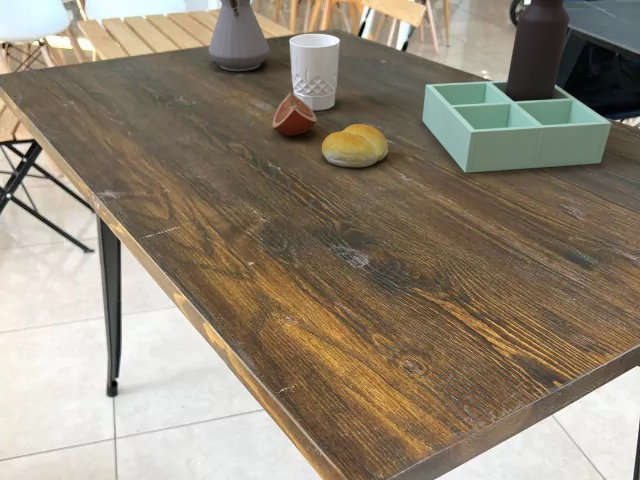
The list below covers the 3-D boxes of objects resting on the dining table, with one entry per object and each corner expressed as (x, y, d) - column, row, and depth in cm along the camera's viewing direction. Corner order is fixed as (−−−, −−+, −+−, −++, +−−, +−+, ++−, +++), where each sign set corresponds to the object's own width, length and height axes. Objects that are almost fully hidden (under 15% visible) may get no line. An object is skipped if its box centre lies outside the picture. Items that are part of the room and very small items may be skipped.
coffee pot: (211, 57, 128) (203, -28, 119) (269, 56, 129) (266, -29, 120) (204, 92, 111) (195, -4, 102) (271, 90, 112) (267, -5, 103)
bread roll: (310, 157, 90) (310, 129, 87) (354, 140, 95) (355, 113, 92) (354, 176, 85) (355, 146, 82) (398, 156, 90) (400, 128, 87)
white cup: (322, 115, 103) (323, 49, 97) (281, 106, 106) (279, 42, 100) (347, 101, 108) (349, 38, 102) (307, 93, 111) (306, 31, 105)
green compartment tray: (538, 114, 104) (546, 78, 100) (600, 163, 88) (611, 123, 85) (422, 121, 101) (425, 84, 98) (465, 173, 86) (471, 132, 82)
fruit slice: (271, 123, 100) (270, 90, 97) (315, 122, 100) (315, 89, 97) (273, 144, 93) (271, 109, 90) (319, 143, 94) (319, 108, 91)
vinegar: (501, 112, 102) (526, -31, 90) (546, 116, 100) (577, -28, 88) (499, 127, 97) (525, -22, 84) (546, 132, 95) (579, -19, 83)
